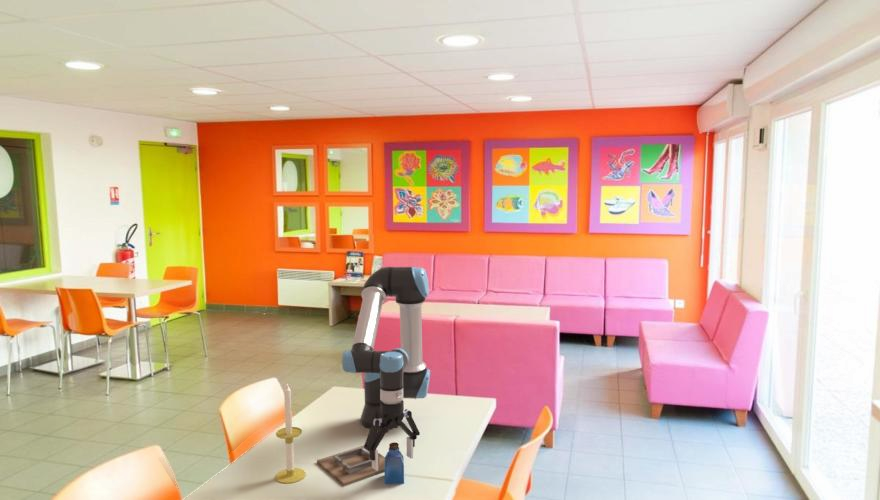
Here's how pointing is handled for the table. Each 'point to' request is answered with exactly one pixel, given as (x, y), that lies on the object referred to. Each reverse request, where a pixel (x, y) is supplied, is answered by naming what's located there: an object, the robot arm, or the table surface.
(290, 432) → the candle
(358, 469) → the pocket board
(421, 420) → the table surface
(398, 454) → the perfume bottle
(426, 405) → the table surface
